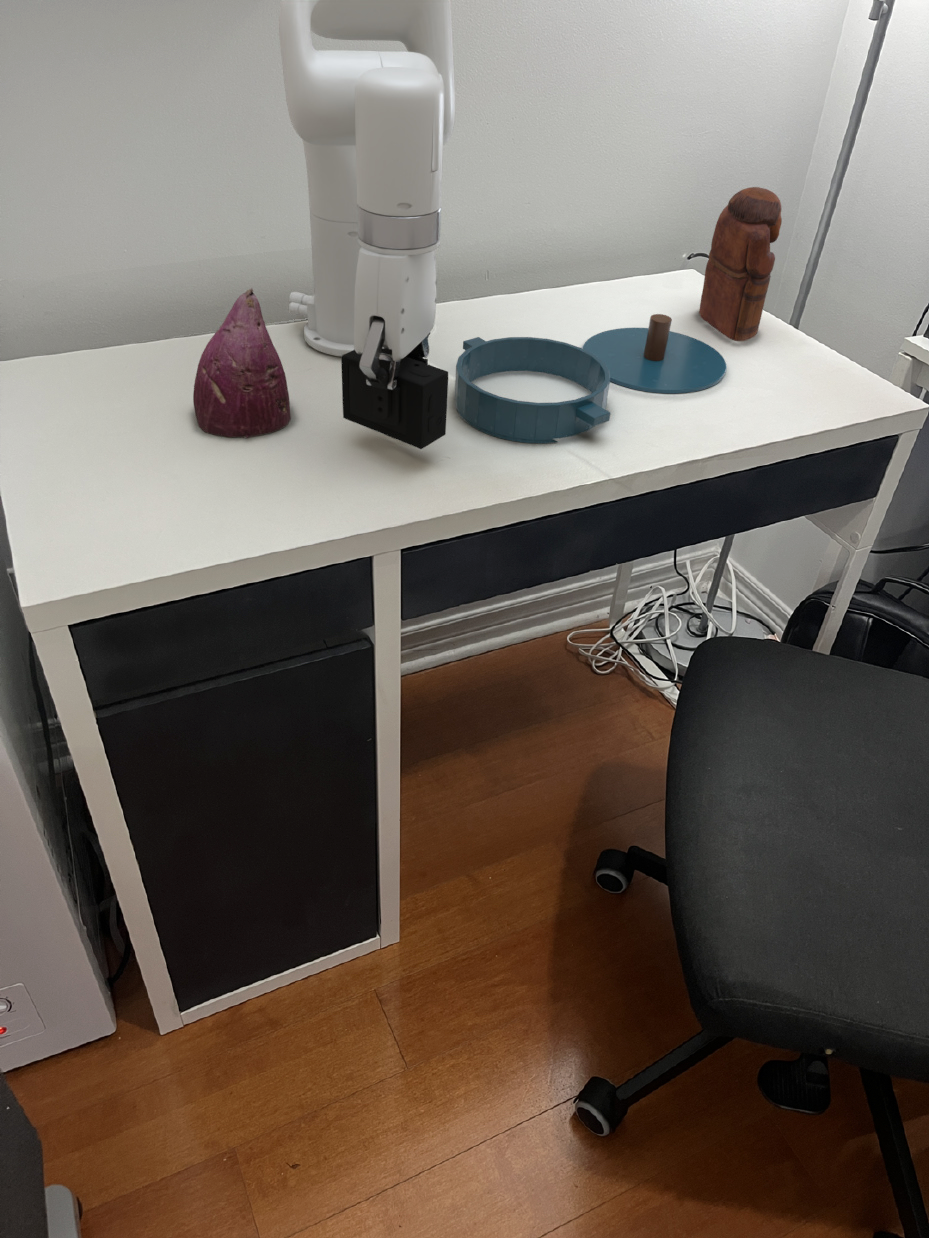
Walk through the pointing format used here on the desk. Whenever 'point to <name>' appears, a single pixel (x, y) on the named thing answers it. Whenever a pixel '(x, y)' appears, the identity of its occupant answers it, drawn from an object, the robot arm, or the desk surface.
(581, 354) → the tin
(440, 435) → the digital camera
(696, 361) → the tin lid
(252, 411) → the vegetable
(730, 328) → the wooden figurine
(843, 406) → the desk surface
